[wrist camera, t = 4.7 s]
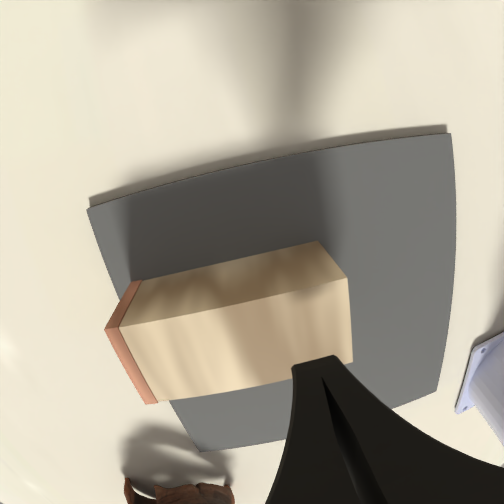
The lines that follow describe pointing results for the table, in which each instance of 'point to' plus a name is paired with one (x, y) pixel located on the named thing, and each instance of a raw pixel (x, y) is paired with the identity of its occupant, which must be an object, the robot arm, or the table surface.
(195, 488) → the brown curved piece
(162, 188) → the charcoal mat
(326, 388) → the robot arm
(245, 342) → the maple block
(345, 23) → the table surface
